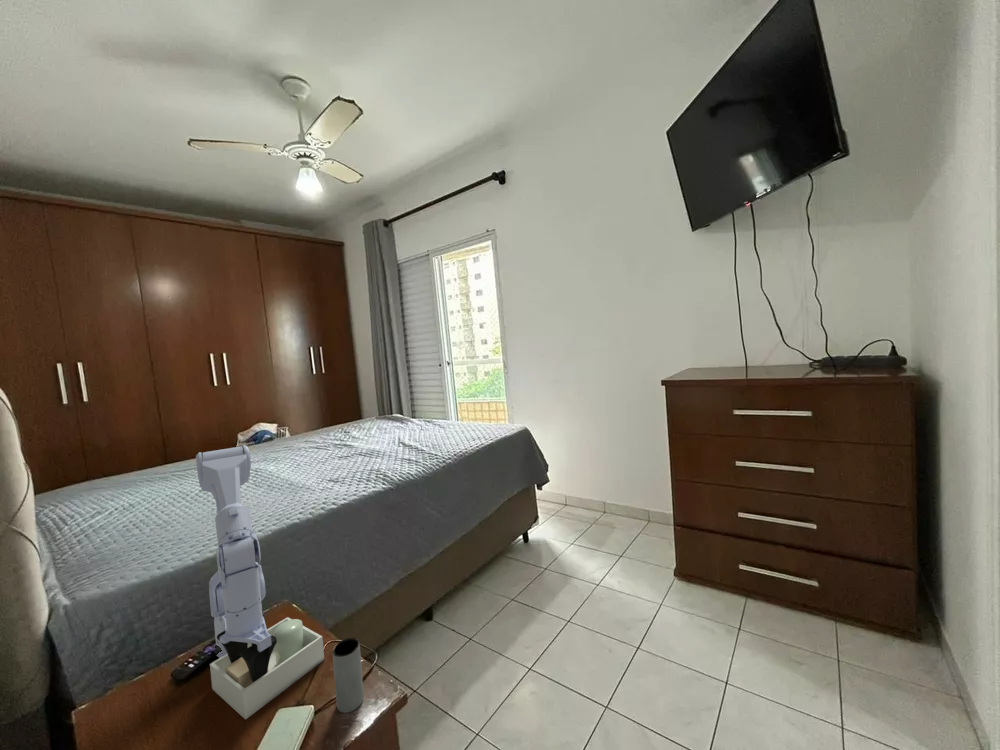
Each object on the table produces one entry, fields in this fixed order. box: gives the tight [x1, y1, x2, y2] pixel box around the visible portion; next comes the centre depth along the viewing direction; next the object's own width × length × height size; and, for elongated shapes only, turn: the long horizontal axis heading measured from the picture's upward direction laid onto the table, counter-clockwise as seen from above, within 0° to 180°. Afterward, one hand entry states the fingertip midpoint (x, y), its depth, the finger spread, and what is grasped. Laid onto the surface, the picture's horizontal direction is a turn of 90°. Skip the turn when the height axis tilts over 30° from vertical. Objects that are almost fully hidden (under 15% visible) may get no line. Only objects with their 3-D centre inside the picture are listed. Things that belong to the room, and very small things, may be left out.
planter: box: [332, 637, 365, 714], centre depth 69 cm, size 4×4×10 cm
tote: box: [209, 616, 325, 720], centre depth 77 cm, size 13×15×5 cm
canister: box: [275, 618, 304, 666], centre depth 79 cm, size 5×5×7 cm
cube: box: [226, 657, 268, 689], centre depth 73 cm, size 5×5×5 cm
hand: (249, 672), depth 73 cm, fingers open, 7 cm apart
